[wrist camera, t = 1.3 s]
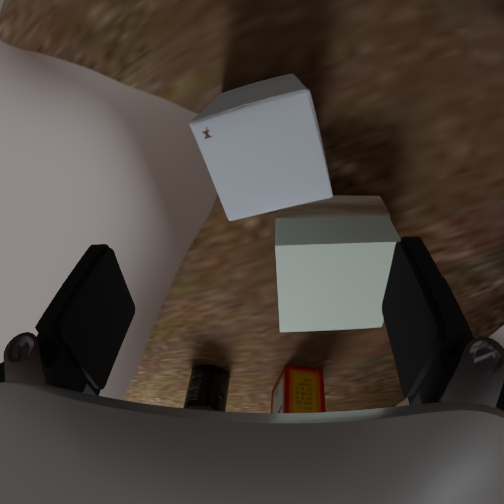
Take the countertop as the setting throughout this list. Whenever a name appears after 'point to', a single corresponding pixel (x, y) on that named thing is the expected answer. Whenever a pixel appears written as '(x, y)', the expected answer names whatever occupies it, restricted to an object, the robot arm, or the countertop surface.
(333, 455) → the robot arm
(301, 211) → the tower bottom block
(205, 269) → the countertop surface
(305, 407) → the baking soda box
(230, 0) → the countertop surface
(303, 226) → the tower top block
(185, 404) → the supplement bottle
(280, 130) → the supplement box
